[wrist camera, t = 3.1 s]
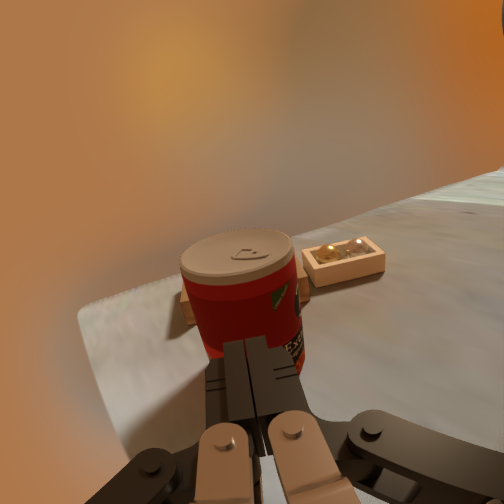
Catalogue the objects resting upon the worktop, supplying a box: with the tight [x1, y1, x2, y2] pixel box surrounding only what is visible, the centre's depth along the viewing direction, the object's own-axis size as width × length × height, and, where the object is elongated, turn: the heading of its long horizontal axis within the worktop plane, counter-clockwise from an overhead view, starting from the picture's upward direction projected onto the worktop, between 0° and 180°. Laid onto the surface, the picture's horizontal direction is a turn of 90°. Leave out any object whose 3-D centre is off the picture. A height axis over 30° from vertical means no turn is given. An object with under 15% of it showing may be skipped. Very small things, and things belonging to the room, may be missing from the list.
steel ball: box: [345, 238, 369, 258], centre depth 38 cm, size 3×3×3 cm
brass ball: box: [316, 244, 341, 265], centre depth 37 cm, size 3×3×3 cm
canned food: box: [179, 228, 305, 375], centre depth 24 cm, size 8×8×11 cm
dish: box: [301, 237, 385, 288], centre depth 38 cm, size 9×6×2 cm, turn 97°
